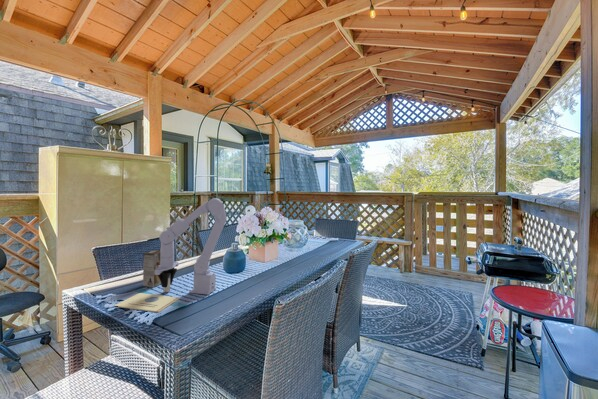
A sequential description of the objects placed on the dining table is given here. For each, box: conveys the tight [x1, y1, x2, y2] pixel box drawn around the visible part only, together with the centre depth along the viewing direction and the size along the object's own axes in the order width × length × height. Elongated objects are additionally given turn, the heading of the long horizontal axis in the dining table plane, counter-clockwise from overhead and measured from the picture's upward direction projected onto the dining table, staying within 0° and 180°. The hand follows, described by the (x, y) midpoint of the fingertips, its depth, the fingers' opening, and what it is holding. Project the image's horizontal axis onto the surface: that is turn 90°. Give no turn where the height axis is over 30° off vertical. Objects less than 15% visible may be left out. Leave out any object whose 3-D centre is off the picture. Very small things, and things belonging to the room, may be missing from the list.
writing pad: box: [113, 292, 181, 313], centre depth 120 cm, size 20×14×1 cm
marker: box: [162, 273, 171, 293], centre depth 131 cm, size 3×3×8 cm
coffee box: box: [142, 249, 161, 288], centre depth 141 cm, size 9×6×16 cm
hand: (166, 285), depth 132 cm, fingers closed on marker, 3 cm apart
